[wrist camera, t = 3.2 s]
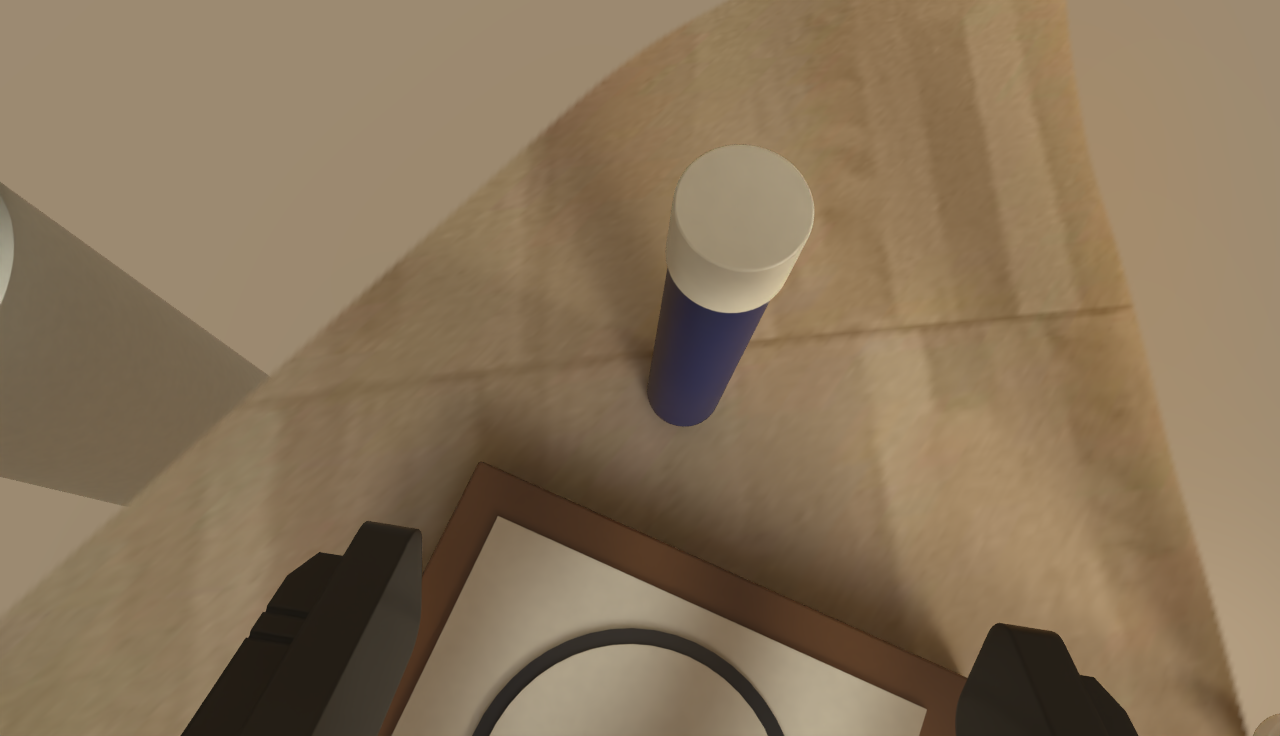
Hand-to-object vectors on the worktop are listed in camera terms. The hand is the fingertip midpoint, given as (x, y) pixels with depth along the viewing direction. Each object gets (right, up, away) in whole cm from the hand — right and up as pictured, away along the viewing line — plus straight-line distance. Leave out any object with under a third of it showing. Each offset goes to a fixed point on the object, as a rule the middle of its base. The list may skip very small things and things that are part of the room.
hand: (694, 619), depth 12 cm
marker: (+1, +3, +14) cm, 14 cm away
